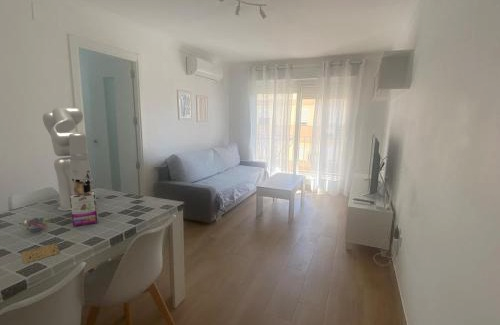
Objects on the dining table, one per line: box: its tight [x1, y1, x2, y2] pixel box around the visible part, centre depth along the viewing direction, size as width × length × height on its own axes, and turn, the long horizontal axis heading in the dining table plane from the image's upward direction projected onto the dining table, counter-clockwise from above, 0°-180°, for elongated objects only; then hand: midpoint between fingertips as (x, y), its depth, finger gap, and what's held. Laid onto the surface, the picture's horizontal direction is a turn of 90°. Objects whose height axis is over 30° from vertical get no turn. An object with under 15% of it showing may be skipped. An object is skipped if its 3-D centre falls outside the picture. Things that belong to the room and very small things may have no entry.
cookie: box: [20, 242, 61, 265], centre depth 107 cm, size 12×12×1 cm
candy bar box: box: [70, 191, 99, 227], centre depth 136 cm, size 11×5×16 cm, turn 117°
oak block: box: [73, 180, 93, 194], centre depth 134 cm, size 6×6×6 cm
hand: (82, 191), depth 134 cm, fingers closed on oak block, 5 cm apart
